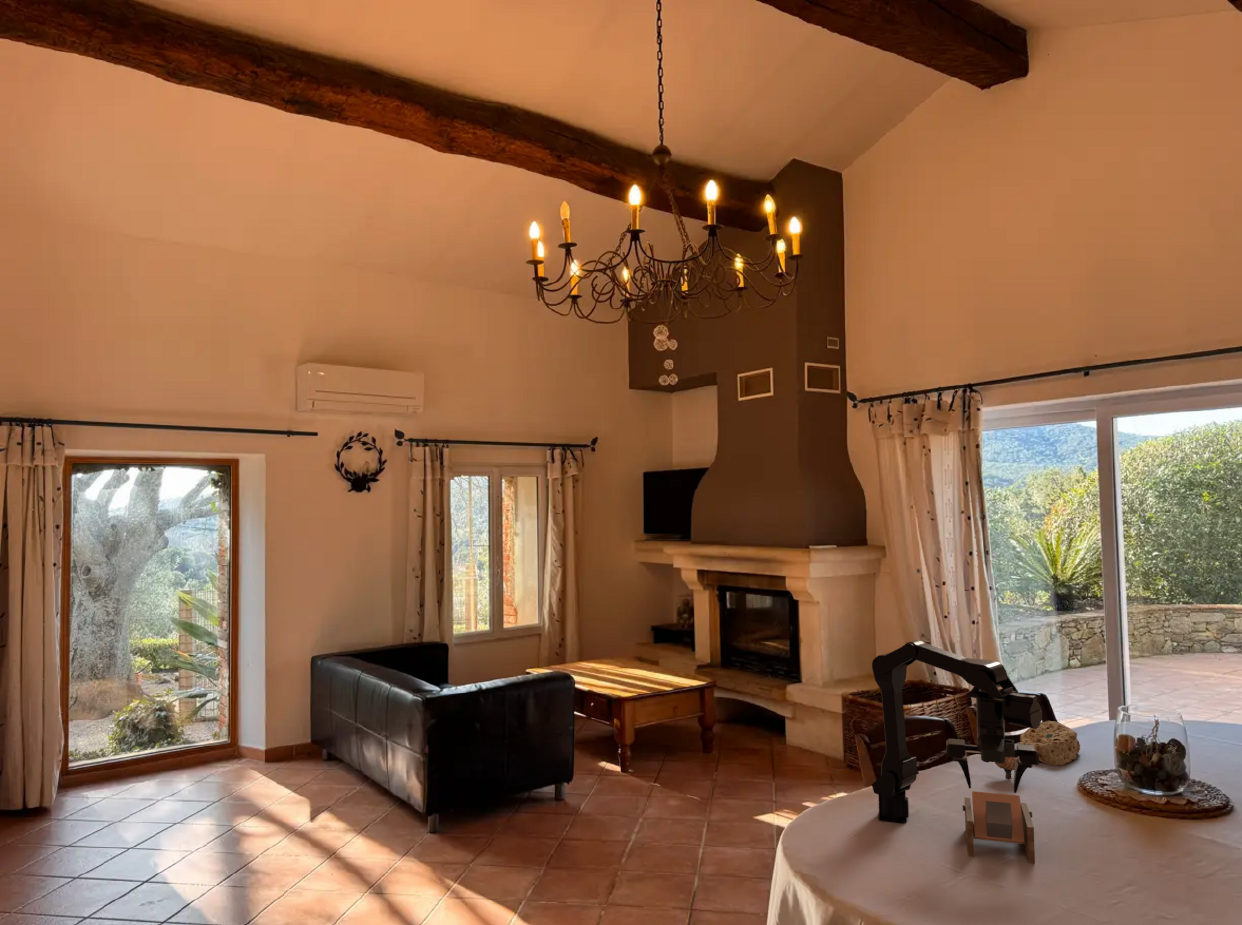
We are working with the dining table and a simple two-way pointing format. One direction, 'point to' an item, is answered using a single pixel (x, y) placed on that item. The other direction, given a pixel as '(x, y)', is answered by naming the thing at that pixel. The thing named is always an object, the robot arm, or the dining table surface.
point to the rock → (1052, 742)
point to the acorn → (1007, 766)
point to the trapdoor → (980, 820)
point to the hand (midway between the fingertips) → (992, 790)
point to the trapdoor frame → (1027, 830)
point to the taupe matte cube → (998, 819)
